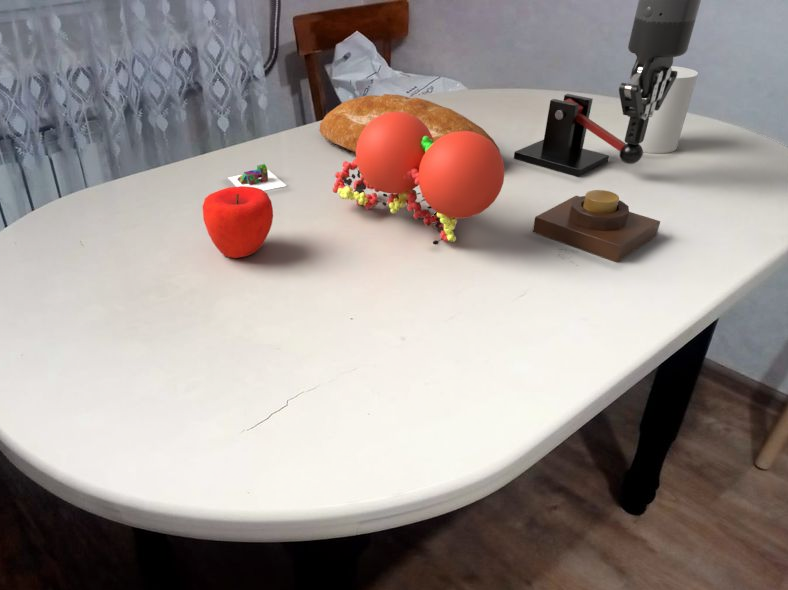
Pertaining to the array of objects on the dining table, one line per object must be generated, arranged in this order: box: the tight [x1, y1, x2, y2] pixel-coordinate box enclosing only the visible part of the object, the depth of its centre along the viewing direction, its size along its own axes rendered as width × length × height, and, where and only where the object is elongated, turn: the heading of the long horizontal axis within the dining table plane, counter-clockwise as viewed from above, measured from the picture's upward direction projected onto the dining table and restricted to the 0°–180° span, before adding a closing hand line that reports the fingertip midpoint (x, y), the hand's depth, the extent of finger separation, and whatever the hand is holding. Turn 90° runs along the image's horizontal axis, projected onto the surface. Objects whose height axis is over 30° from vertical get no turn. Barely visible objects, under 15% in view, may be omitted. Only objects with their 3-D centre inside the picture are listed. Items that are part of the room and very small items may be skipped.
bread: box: [318, 93, 501, 154], centre depth 112 cm, size 18×35×9 cm, turn 51°
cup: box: [625, 65, 699, 154], centre depth 110 cm, size 8×8×12 cm
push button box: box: [532, 195, 661, 263], centre depth 85 cm, size 12×10×4 cm
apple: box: [202, 186, 274, 259], centre depth 83 cm, size 9×9×8 cm
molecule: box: [332, 112, 506, 246], centre depth 86 cm, size 25×11×15 cm, turn 48°
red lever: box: [563, 99, 644, 165], centre depth 102 cm, size 15×3×3 cm, turn 42°
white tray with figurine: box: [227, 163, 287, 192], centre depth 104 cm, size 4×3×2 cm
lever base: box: [513, 93, 610, 178], centre depth 106 cm, size 12×9×10 cm
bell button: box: [583, 189, 620, 214], centre depth 84 cm, size 4×4×2 cm
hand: (633, 142), depth 98 cm, fingers closed
